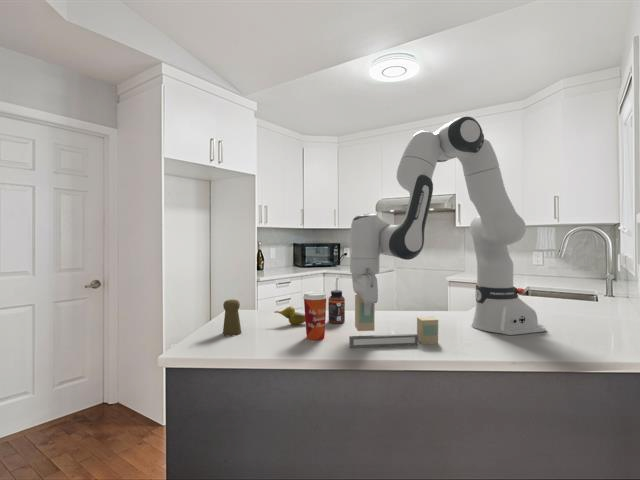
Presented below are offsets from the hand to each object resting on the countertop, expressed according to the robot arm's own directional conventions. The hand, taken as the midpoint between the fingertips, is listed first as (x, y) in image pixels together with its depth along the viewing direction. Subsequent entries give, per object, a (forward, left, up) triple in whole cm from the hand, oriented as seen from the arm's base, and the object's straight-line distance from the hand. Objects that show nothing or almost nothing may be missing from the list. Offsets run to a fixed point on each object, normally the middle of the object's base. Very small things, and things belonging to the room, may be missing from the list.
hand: (364, 312), depth 114 cm
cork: (+42, -12, -9) cm, 44 cm away
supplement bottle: (+6, -22, -9) cm, 24 cm away
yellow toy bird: (+21, -20, -9) cm, 30 cm away
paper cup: (+15, -4, -9) cm, 18 cm away
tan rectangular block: (0, 0, -5) cm, 5 cm away
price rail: (-4, +7, -8) cm, 12 cm away
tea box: (-18, +4, -9) cm, 21 cm away
